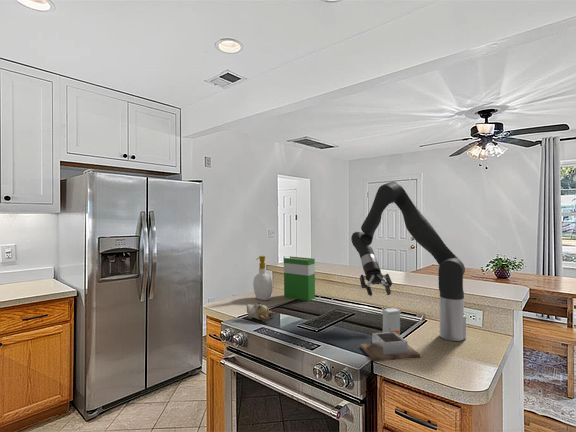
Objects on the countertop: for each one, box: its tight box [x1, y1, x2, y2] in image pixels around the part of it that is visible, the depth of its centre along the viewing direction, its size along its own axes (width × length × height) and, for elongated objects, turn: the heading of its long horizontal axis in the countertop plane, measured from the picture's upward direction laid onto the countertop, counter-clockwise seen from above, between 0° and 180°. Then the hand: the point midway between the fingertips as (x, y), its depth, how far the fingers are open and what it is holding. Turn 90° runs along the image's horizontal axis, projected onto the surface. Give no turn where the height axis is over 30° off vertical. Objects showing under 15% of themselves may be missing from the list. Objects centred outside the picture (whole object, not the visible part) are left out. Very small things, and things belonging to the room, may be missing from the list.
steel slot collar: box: [371, 331, 408, 356], centre depth 133 cm, size 9×10×4 cm
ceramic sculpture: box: [246, 302, 278, 322], centre depth 173 cm, size 11×9×15 cm
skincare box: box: [382, 307, 401, 336], centre depth 147 cm, size 6×4×12 cm
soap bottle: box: [253, 255, 273, 301], centre depth 209 cm, size 14×9×26 cm, turn 47°
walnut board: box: [360, 342, 421, 362], centre depth 133 cm, size 18×13×1 cm
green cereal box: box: [283, 255, 316, 302], centre depth 212 cm, size 18×7×24 cm, turn 55°
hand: (380, 294), depth 158 cm, fingers open, 8 cm apart
